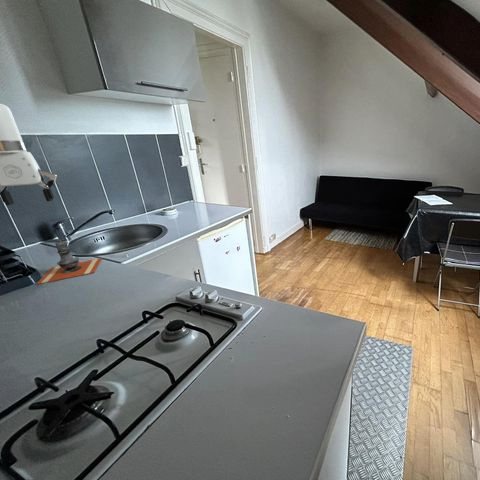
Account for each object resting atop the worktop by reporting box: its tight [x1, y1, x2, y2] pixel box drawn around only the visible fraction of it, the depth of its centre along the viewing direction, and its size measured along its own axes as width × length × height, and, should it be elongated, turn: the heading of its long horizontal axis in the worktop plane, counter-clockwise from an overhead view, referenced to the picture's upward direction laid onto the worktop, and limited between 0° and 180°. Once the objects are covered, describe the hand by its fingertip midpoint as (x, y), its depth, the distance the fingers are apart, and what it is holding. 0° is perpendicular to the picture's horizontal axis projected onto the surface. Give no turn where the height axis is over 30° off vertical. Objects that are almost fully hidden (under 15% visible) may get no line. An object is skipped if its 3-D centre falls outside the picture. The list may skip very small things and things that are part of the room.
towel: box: [36, 258, 103, 286], centre depth 95 cm, size 15×14×1 cm
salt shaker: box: [55, 238, 81, 273], centre depth 92 cm, size 6×6×12 cm
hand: (30, 202), depth 86 cm, fingers open, 9 cm apart
